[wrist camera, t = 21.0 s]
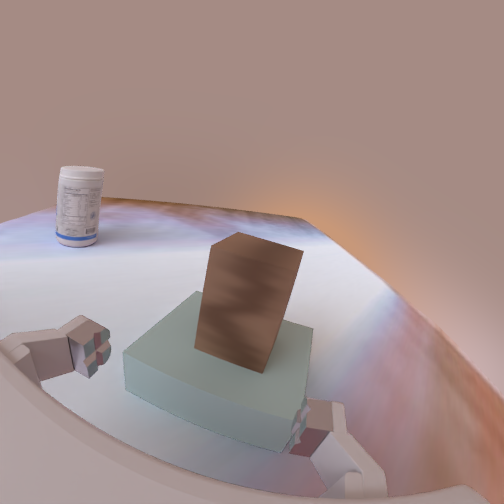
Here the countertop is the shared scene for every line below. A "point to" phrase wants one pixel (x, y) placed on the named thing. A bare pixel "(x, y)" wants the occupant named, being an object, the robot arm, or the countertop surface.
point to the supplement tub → (78, 205)
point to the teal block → (220, 379)
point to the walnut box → (245, 299)
